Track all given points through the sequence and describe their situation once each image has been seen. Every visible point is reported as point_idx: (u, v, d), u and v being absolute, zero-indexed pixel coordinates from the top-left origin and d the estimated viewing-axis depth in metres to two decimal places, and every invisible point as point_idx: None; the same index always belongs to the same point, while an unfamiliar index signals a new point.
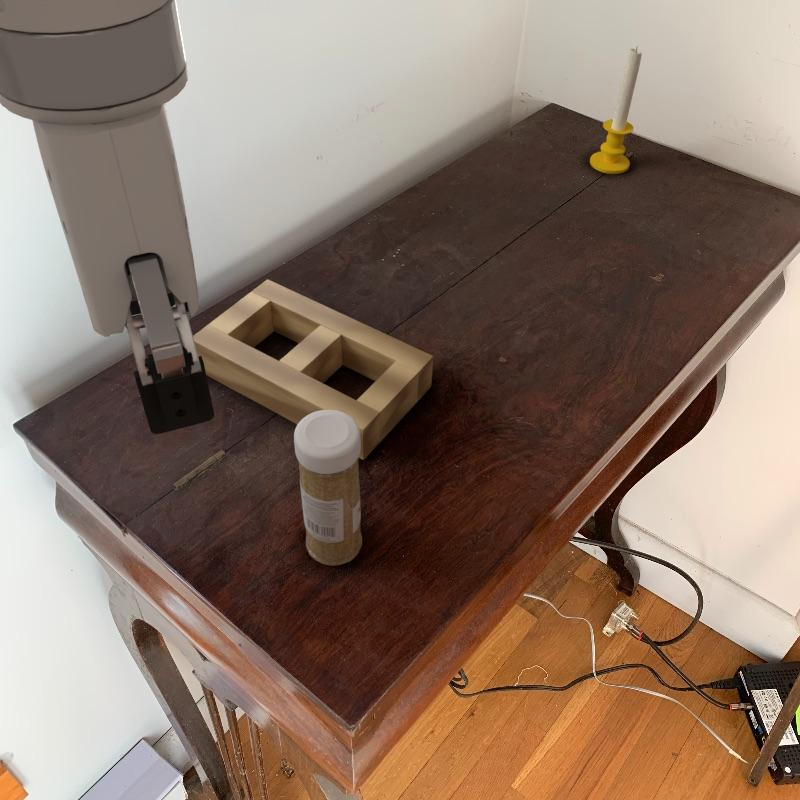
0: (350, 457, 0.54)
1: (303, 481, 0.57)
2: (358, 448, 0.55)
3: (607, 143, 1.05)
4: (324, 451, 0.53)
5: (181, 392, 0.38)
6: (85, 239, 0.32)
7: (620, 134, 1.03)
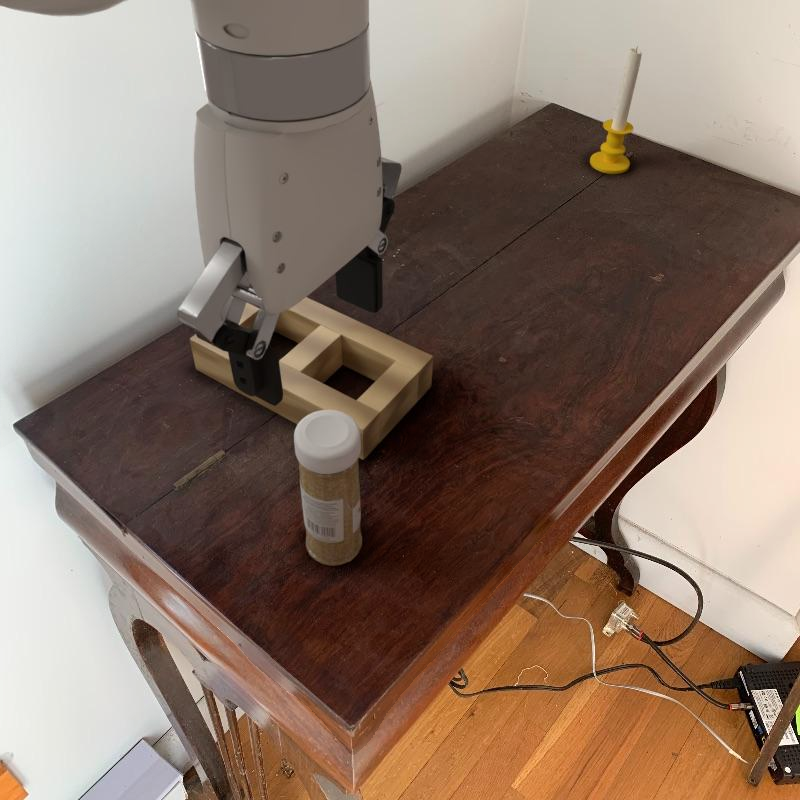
0: (350, 457, 0.54)
1: (303, 481, 0.57)
2: (358, 448, 0.55)
3: (607, 143, 1.05)
4: (324, 451, 0.53)
5: (244, 365, 0.43)
6: (200, 205, 0.38)
7: (620, 134, 1.03)
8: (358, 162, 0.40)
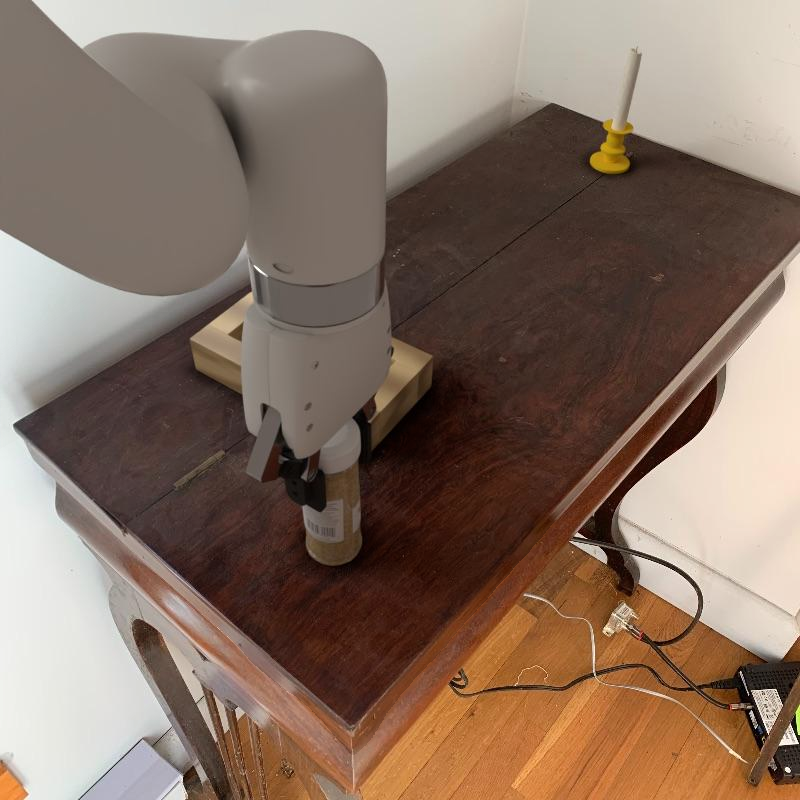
0: (350, 457, 0.54)
1: None
2: (358, 448, 0.55)
3: (607, 143, 1.05)
4: (324, 451, 0.53)
5: (298, 484, 0.54)
6: (245, 377, 0.47)
7: (620, 134, 1.03)
8: (373, 337, 0.49)
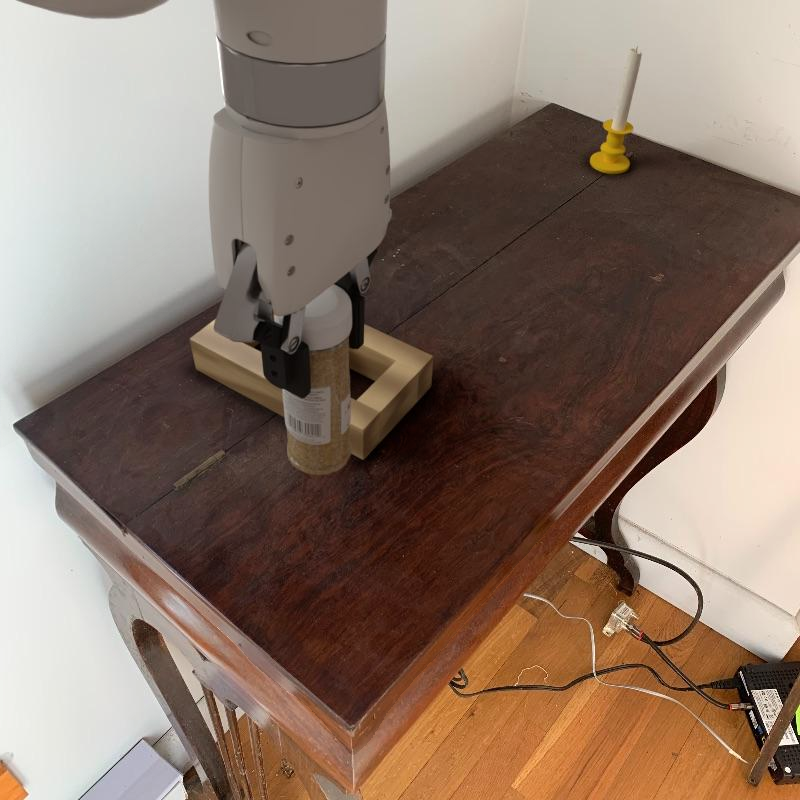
0: (339, 331, 0.46)
1: None
2: (349, 322, 0.47)
3: (607, 143, 1.05)
4: (309, 321, 0.45)
5: (277, 359, 0.45)
6: (213, 207, 0.39)
7: (620, 134, 1.03)
8: (369, 169, 0.41)
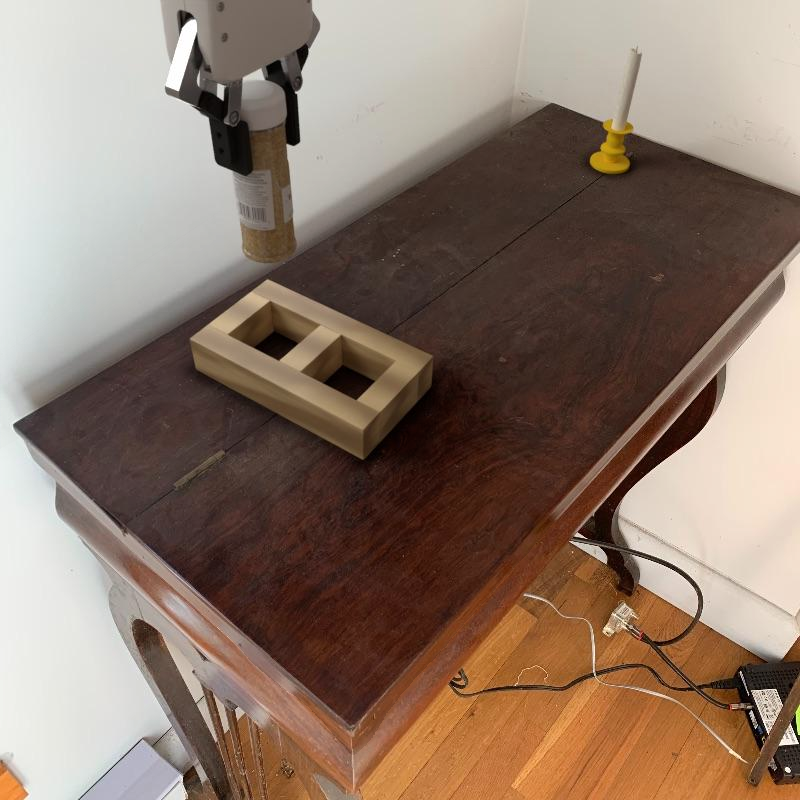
0: (274, 113, 0.56)
1: None
2: (282, 108, 0.57)
3: (607, 143, 1.05)
4: (248, 102, 0.55)
5: (222, 135, 0.56)
6: None
7: (620, 134, 1.03)
8: None
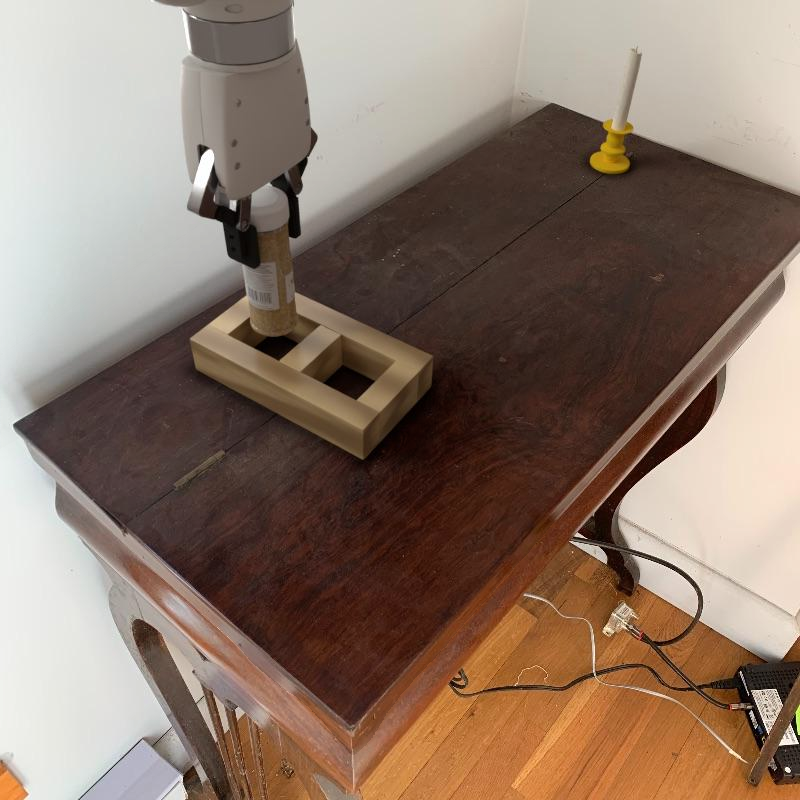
0: (278, 217, 0.65)
1: None
2: (286, 212, 0.66)
3: (607, 143, 1.05)
4: (256, 209, 0.65)
5: (234, 237, 0.65)
6: (184, 123, 0.58)
7: (620, 134, 1.03)
8: (290, 98, 0.60)
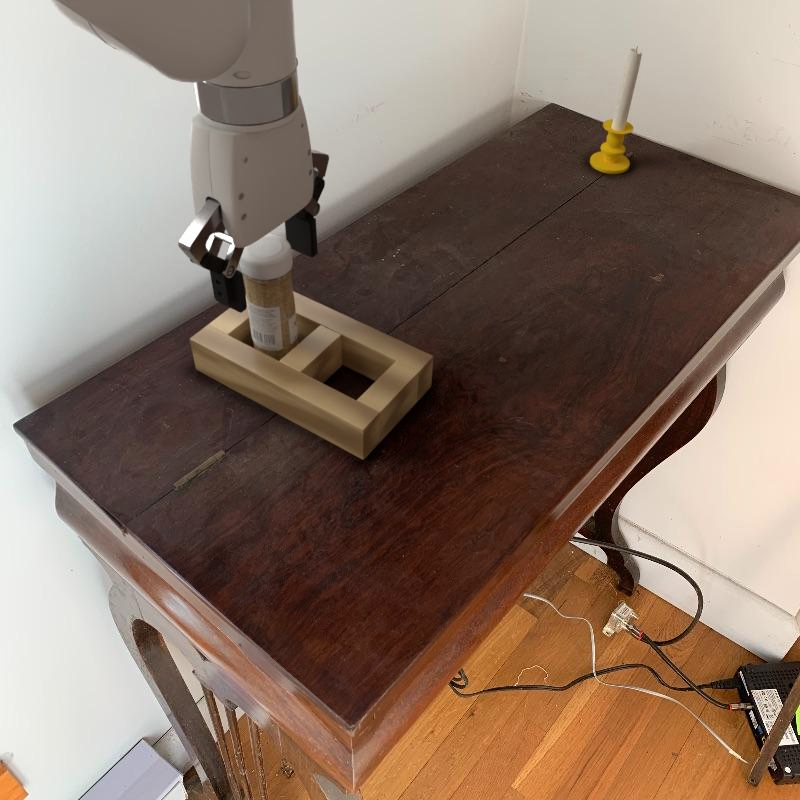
0: (282, 266, 0.69)
1: (247, 292, 0.71)
2: (289, 261, 0.69)
3: (607, 143, 1.05)
4: (261, 259, 0.68)
5: (221, 283, 0.66)
6: (193, 176, 0.61)
7: (620, 134, 1.03)
8: (294, 151, 0.63)
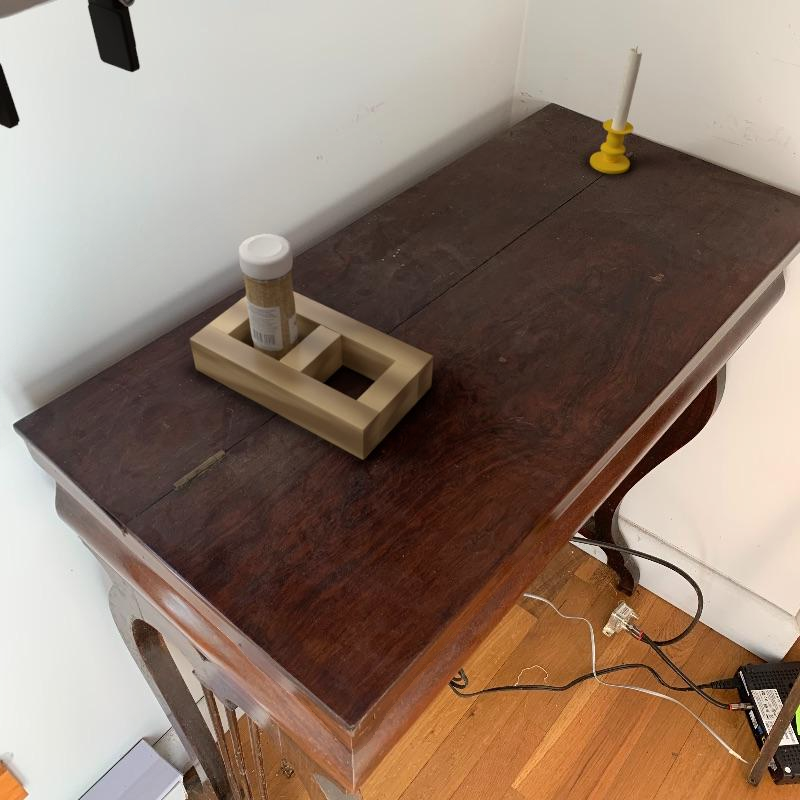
0: (282, 266, 0.69)
1: (247, 292, 0.71)
2: (289, 261, 0.69)
3: (607, 143, 1.05)
4: (261, 259, 0.68)
5: None
6: None
7: (620, 134, 1.03)
8: None
